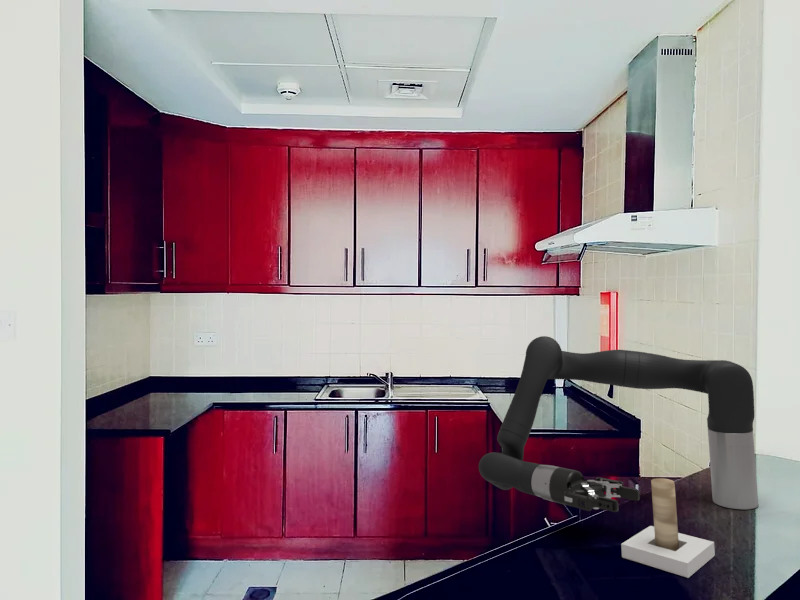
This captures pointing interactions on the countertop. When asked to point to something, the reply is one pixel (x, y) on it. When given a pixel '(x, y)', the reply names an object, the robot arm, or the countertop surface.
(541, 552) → the countertop surface
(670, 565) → the socket plate
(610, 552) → the countertop surface
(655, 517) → the peg
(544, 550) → the countertop surface
